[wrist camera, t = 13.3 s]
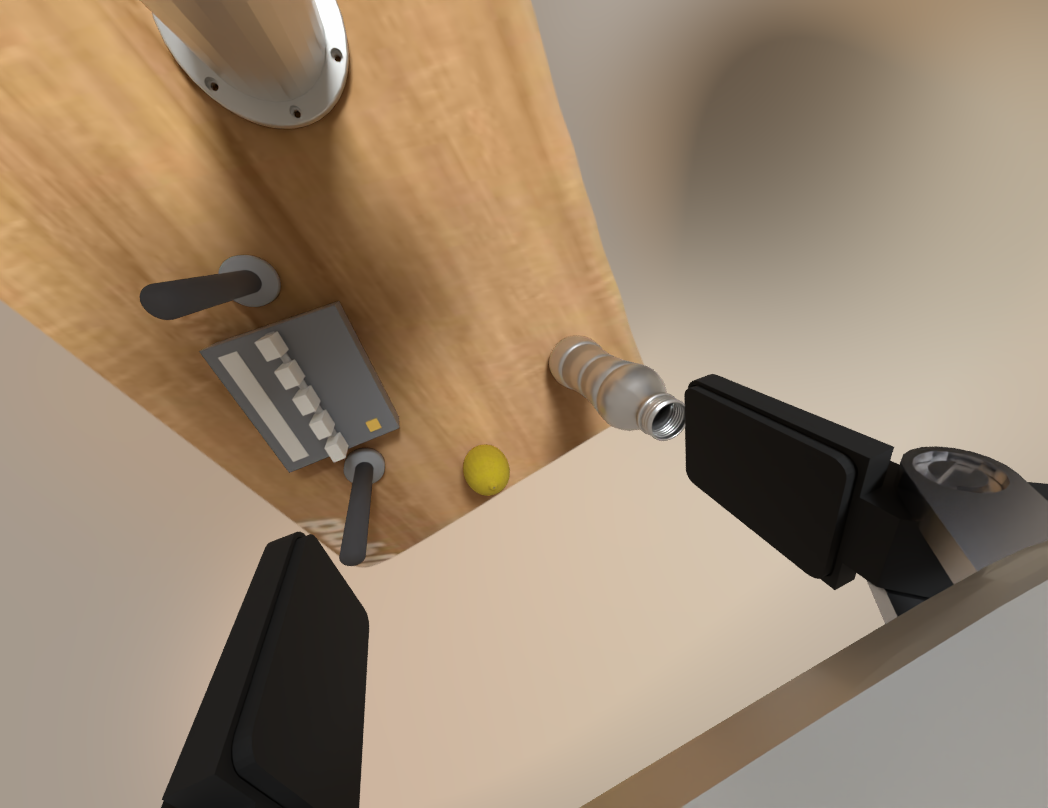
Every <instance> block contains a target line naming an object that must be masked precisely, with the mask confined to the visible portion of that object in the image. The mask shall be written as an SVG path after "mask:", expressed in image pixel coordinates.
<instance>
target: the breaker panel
mask: <svg viewBox="0 0 1048 808" xmlns="http://www.w3.org/2000/svg"><path fill="white" fill-rule="evenodd" d="M273 331H274V332H277V331H278V333H279V334H280V336H281V338H282V339H283V341H284V342H285V344H286V346H287V347H288V349H289V350H288V351H287V354H288V355H289V357H290V359H291V360H294V359H295V360H296V362H297V363H298V365H299V367H300V368H301V370H302V372H303V373H304V375H305V377H304V381H305V382H306V384H307V386H310V385H311V386H312V388H313V389H314V391H315V392H316V394H317V396H318V397H319V399H320V404H319V405H320V406H321V408H322V410H327V412H328V413H329V415H330V417H331V418H332V420H333V421H334V423H335V426H334V429H335V430H336V432H337V433H339V432H340V433H341V434H342V436H343V438H344V439H345V441H346V442H347V444H348V449H349V448H351V447H354V446H356V445H359V444H361V443H364V442H366V441H369V440H371V439H373V438H376V437H378V436H381V435H383V434H386V433H388V432H391V431H393V430H396V429H398V428H399V416H398V414H397V412H396V410H395V408H394V406H393V404H392V402H391V401H390V399H389V397H388V395H387V393H386V391H385V389H384V387H383V385H382V383H381V381H380V379H379V377H378V375H377V374H376V372H375V370H374V368H373V366H372V364H371V362H370V360H369V358H368V356H367V354H366V352H365V350H364V348H363V347H362V345H361V343H360V341H359V339H358V337H357V335H356V333H355V331H354V329H353V327H352V325H351V323H350V321H349V319H348V318H347V316H346V314H345V312H344V310H343V308H342V306H341V304H340V302H339V301H337V302H334V303H331V304H329V305H326V306H323V307H320V308H317V309H314V310H311V311H308V312H305V313H302V314H299V315H296V316H293V317H290V318H287V319H284V320H282V321H279V322H276V323H273V324H270V325H267V326H264V327H261V328H258V329H255V330H252V331H249V332H246V333H243V334H240V335H238V336H235V337H232V338H229V339H226V340H223V341H220V342H217V343H214V344H212V345H210V346H208V347H206V348H205V349H203V350H201V351H199V352H200V353H201V355H202V356H203V357H204V359H205V360H206V361H207V363H208V364H209V365H210V367H211V368H212V369H213V371H214V372H215V374H216V375H217V376H218V378H219V379H220V380H221V382H222V383H223V384H224V386H225V387H226V388H227V390H228V391H229V392H230V394H231V395H232V396H233V398H234V399H235V400H236V402H237V403H238V404H239V406H240V407H241V408H242V410H243V411H244V413H245V414H246V415H247V417H248V418H249V419H250V421H251V422H252V423H253V425H254V426H255V427H256V429H257V430H258V431H259V433H260V434H261V435H262V437H263V438H264V439H265V441H266V442H267V443H268V445H269V446H270V447H271V449H272V450H273V451H274V453H275V454H276V456H277V457H278V458H279V460H280V461H281V462H282V464H283V465H284V466H285V468H286V469H287V470H288V472H289V473H290V472H292V471H295V470H297V469H300V468H302V467H305V466H307V465H310V464H312V463H315V462H317V461H319V460H322V459H324V458H327V457H329V455H328V453H327V452H326V450H325V449H324V448H325V445H326V442H327V439H328V437H329V436H328V437H326V438H323V439H321V440H318V438H317V437H316V435H315V434H314V432H313V430H312V429H311V427H310V426H309V423H310V421H311V419H312V417H313V415H314V414H315V412H312V413H310V414H307V415H304V416H303V415H302V414H301V412H300V411H299V409H298V408H297V406H296V405H295V403H294V402H293V400H292V399H293V397H294V396H295V394H296V393H297V391H298V390H299V389H300V388H299V387H298V386H295V387H293V388H290V389H287V390H285V388H284V387H283V385H282V384H281V382H280V381H279V379H278V377H277V376H276V374H275V373H274V372H275V371H276V370H277V369H278V367H279V366H280V365H281V364H283V361H282V360H281V358H280V357H279V358H277V359H274V360H271V361H268V362H267V361H266V359H265V358H264V356H263V355H262V353H261V352H260V350H259V349H258V347H257V346H256V344H255V343H254V342H256V341H257V340H259V339H260V338H262V337H263V336H265V334H267V333H270V332H273Z"/></svg>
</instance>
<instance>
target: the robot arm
mask: <svg viewBox="0 0 1048 808" xmlns="http://www.w3.org/2000/svg"><path fill="white" fill-rule="evenodd" d="M140 1H141V2H142V3H143V4H144V5H145V6H146V7H147V8H148V9H149V10H150V11H151V12H152V15H153V18H154V21H155V23H156V25H157V27H158V30H159V32H160V34H161V36H162V38H163V40H164V42H165V44H166V45H167V47H168V48H169V50H170V52H171V53H172V55H173V56H174V58H175V59H176V61H177V62H178V64H179V65H180V66H181V67H182V68H183V70H184V71H185V72H186V73H187V74H188V75H189V77H190V78H191V79H192V80H193V81H194V82H195V83H196V84H197V85H198V86H199V87H200V88H201V89H202V90H203V91H205V92H206V93H207V94H208V95H209V96H210V97H211V98H213V99H214V100H215V101H216V102H218V103H219V104H220V105H222V106H223V107H224V108H226V109H228V110H229V111H231V112H233V113H235V114H236V115H238V116H240V117H241V118H244V119H246V120H249V121H251V122H254V123H256V124H259V125H263V126H267V127H272V128H281V129H293V128H298V127H303V126H308V125H310V124H312V123H314V122H316V121H318V120H320V119H321V118H323V117H324V116H325V115H326V114H327V113H329V112H330V111H331V110H332V108H333V107H334V106H335V104H336V103H337V102H338V100H339V99H340V96H341V94H342V92H343V89H344V87H345V84H346V79H347V74H348V69H349V49H348V42H347V35H346V30H345V26H344V22H343V18H342V14H341V12H340V9H339V6H338V4H337V1H336V0H140ZM336 56H339V57H340V58H341V61H340V62H336V61H335V57H336ZM214 85H218V86H219V88H218V90H217V91H214V90H213V86H214ZM295 112H299V113H301V117H300V118H296V117H295ZM685 440H686V441H685V442H686V443H685V444H686V472H687V475H688V477H689V479H690V480H691V481H692V483H694V484H695V485H696V486H697V487H698V488H700V489H701V490H702V491H703V492H705V493H706V494H708V495H709V496H710V497H711V498H712V499H714V500H715V501H716V502H717V503H719V504H720V505H721V506H722V507H724V508H725V509H726V510H727V511H729V512H730V513H731V514H732V515H734V516H735V517H736V518H737V519H739V520H740V521H741V522H742V523H744V524H745V525H746V526H747V527H749V528H750V529H751V530H753V531H754V532H755V533H756V534H758V535H759V536H760V537H761V538H763V539H764V540H765V541H766V542H768V543H769V544H770V545H771V546H773V547H774V548H775V549H776V550H778V551H779V552H780V553H782V554H783V555H784V556H785V557H787V558H788V559H789V560H790V561H792V562H793V563H794V564H795V565H796V566H798V567H799V568H800V569H802V570H803V571H804V572H805V573H807V574H808V575H810V576H811V577H814V578H817V579H821V580H822V581H824V582H825V583H826V584H828V585H829V586H830V587H832V588H833V589H834V590H836V589H838V588H840V587H841V586H843V585H845V584H847V583H849V582H850V581H852V580H854V579H855V575H856V573H858V574H859V575H861V576H862V577H863V578H865V579H866V580H867V582H868V584H869V587H870V589H871V591H872V594H873V596H874V599H875V601H876V603H877V605H878V608H879V610H880V612H881V615H882V617H883V620H884V622H885V625H883V626H881V627H880V628H878V629H876V630H875V631H873V632H872V633H870V634H868V635H866V636H865V637H863V638H861V639H860V640H858V641H856V642H855V643H853V644H851V645H849V646H848V647H846V648H844V649H843V650H841V651H839V652H838V653H836V654H834V655H833V656H831V657H829V658H828V659H826V660H824V661H823V662H821V663H819V664H817V665H816V666H814V667H812V668H811V669H809V670H808V671H806V672H804V673H802V674H801V675H799V676H797V677H796V678H794V679H792V680H791V681H789V682H787V683H786V684H784V685H782V686H781V687H779V688H777V689H776V690H774V691H772V692H771V693H769V694H767V695H766V696H764V697H763V698H761V699H759V700H757V701H756V702H754V703H752V704H751V705H749V706H747V707H746V708H744V709H742V710H741V711H739V712H737V713H736V714H734V715H732V716H731V717H729V718H728V719H726V720H724V721H722V722H721V723H719V724H717V725H716V726H714V727H712V728H711V729H709V730H707V731H706V732H704V733H703V734H701V735H699V736H697V737H696V738H694V739H692V740H691V741H689V742H688V743H686V744H684V745H682V746H681V747H679V748H678V749H676V750H674V751H673V752H671V753H669V754H668V755H666V756H664V757H663V758H661V759H659V760H658V761H656V762H654V763H653V764H651V765H649V766H648V767H646V768H644V769H643V770H641V771H639V772H638V773H636V774H634V775H633V776H631V777H629V778H628V779H626V780H625V781H623V782H621V783H619V784H618V785H616V786H615V787H613V788H611V789H610V790H608V791H606V792H605V793H603V794H601V795H600V796H598V797H596V798H595V799H593V800H592V801H590V802H588V803H587V804H585V805H583V806H582V807H580V808H1048V484H1043V483H1032V482H1026V480H1024V479H1023V478H1022V477H1021V476H1020V475H1019V474H1018V473H1017V472H1015V471H1014V470H1012V469H1011V468H1010V467H1008V466H1007V465H1005V464H1003V463H1001V462H999V461H996V460H994V459H992V458H990V457H987V456H983V455H981V454H978V453H974V452H971V451H965V450H961V449H956V448H948V447H920V448H916V449H912V450H910V451H908V452H906V453H905V454H903V457H902V459H901V462H900V465H899V464H897V463H894V462H892V461H890V459H891V455H892V452H893V449H894V447H893V446H891V445H888V444H885V443H883V442H880V441H878V440H876V439H873V438H871V437H868V436H866V435H863V434H861V433H858V432H856V431H853V430H851V429H848V428H846V427H844V426H841V425H839V424H836V423H834V422H831V421H829V420H826V419H824V418H822V417H819V416H817V415H814V414H811V413H809V412H807V411H804V410H802V409H799V408H797V407H794V406H792V405H789V404H787V403H784V402H782V401H779V400H777V399H775V398H772V397H770V396H767V395H765V394H762V393H760V392H757V391H755V390H752V389H750V388H748V387H745V386H742V385H740V384H738V383H735V382H733V381H730V380H728V379H725V378H723V377H720V376H718V375H715V374H711V375H707V376H705V377H702V378H699V379H697V380H694V381H692V382H691V383H690V384H689V386H688V389H687V390H686V391H685ZM368 639H369V620H368V616H367V613H366V611H365V609H364V607H363V606H362V604H361V603H360V602H359V600H358V599H357V597H356V596H355V594H354V593H353V591H352V590H351V588H350V587H349V585H348V584H347V582H346V581H345V580H344V578H343V576H342V575H341V574H340V572H339V571H338V569H337V568H336V566H335V565H334V563H333V562H332V560H331V559H330V557H329V556H328V554H327V553H326V551H325V550H324V549H323V547H322V546H321V544H320V543H319V541H318V540H317V538H316V537H315V536H314V535H312V534H310V535H307V536H305V534H304V533H302V532H296V533H293V534H290V535H288V536H285V537H282V538H280V539H277V540H275V541H272V542H270V543H268V544H267V546H266V547H265V550H264V552H263V554H262V557H261V559H260V562H259V564H258V567H257V569H256V571H255V574H254V576H253V579H252V581H251V584H250V586H249V589H248V591H247V594H246V596H245V598H244V601H243V603H242V606H241V608H240V610H239V613H238V615H237V618H236V620H235V623H234V625H233V627H232V630H231V632H230V635H229V637H228V640H227V642H226V645H225V647H224V649H223V652H222V654H221V657H220V659H219V662H218V664H217V666H216V669H215V671H214V674H213V676H212V679H211V681H210V683H209V686H208V688H207V691H206V693H205V696H204V698H203V701H202V703H201V705H200V708H199V710H198V713H197V715H196V718H195V720H194V722H193V725H192V727H191V730H190V732H189V735H188V737H187V739H186V742H185V744H184V747H183V749H182V752H181V754H180V756H179V759H178V761H177V764H176V766H175V769H174V771H173V773H172V776H171V778H170V781H169V783H168V786H167V788H166V791H165V793H164V796H163V798H162V800H164V802H163V804H162V807H161V808H359V800H360V781H361V764H362V747H363V746H362V745H363V728H364V711H365V710H364V709H365V693H366V675H367V673H366V672H367V657H368V656H367V655H368Z"/></svg>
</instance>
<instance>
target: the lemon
mask: <svg viewBox="0 0 1048 808" xmlns="http://www.w3.org/2000/svg"><path fill="white" fill-rule="evenodd" d="M463 473H464V477H465V479H466V481H467V483H468V485H469V486H470V487H471V488H472V489H473V490H474V491H475V492H477V493H478V494H480V495H485V496H491V495H495V494H497V493H499V492H500V491H502V490H503V489H504V488H505V486H506V485H507V483H508V480H509V474H510V469H509V464H508V461H507V459H506V457H505V455H504V454H503V453H502V452H501V451H500V450H499V449H498V448H496V447H494V446H492V445H487V444H486V445H479V446H476V447H474V448H473V449H472V450H470V451H469V452H468V454H467V455H466V457H465V459H464V463H463Z"/></svg>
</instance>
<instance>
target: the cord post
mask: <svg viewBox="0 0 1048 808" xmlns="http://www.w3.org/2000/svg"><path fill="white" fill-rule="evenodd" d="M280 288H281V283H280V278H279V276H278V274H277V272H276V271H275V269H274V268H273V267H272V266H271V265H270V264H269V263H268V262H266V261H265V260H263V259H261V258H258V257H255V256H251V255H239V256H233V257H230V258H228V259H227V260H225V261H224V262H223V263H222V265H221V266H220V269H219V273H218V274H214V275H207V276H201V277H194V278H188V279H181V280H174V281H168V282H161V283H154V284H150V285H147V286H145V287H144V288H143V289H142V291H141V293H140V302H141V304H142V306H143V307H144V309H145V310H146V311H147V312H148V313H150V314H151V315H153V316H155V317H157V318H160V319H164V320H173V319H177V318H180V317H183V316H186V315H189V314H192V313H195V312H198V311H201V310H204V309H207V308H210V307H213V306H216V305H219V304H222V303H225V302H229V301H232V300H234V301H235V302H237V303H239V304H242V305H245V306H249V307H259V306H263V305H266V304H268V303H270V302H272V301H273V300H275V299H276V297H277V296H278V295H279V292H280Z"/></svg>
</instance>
